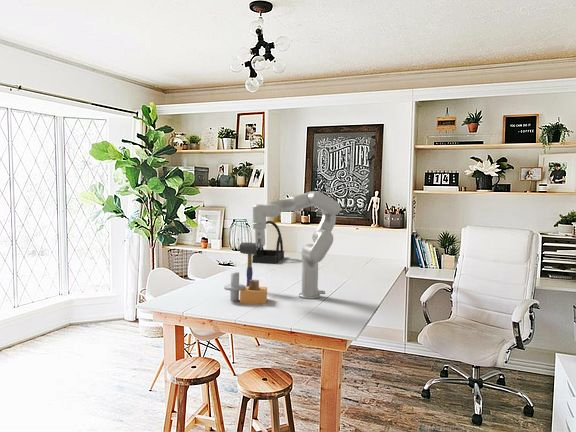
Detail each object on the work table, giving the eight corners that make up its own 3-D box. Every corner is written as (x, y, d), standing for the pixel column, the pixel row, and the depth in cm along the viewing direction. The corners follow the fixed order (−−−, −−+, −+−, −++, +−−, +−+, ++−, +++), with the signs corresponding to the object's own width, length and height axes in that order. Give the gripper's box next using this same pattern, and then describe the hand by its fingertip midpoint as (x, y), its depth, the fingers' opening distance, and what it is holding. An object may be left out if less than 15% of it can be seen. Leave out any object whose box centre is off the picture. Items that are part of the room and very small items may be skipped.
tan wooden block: (258, 300, 267) (259, 279, 266) (257, 302, 263) (257, 281, 262) (250, 300, 267) (250, 279, 266) (248, 301, 263) (249, 281, 262)
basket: (275, 264, 384) (276, 223, 381) (251, 263, 388) (252, 221, 386) (284, 257, 418) (285, 219, 415) (262, 256, 422) (262, 218, 420)
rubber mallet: (237, 289, 291) (238, 242, 289) (243, 287, 298) (244, 241, 296) (255, 292, 286) (256, 244, 284) (260, 289, 293) (261, 242, 291)
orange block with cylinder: (266, 298, 271) (267, 271, 270) (264, 304, 259) (265, 275, 258) (226, 297, 272) (226, 270, 271) (222, 302, 260) (222, 274, 259)
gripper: (265, 227, 256) (265, 258, 258) (267, 224, 274) (267, 253, 275) (251, 227, 257) (252, 258, 258) (254, 224, 274) (255, 253, 275)
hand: (260, 255), depth 267 cm, fingers open, 9 cm apart
